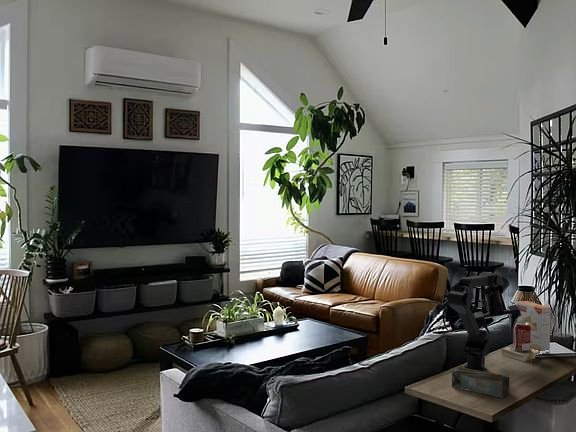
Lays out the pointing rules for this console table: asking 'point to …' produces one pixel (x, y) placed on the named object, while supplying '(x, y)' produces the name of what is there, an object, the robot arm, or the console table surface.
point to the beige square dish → (519, 353)
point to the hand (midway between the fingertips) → (500, 331)
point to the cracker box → (536, 324)
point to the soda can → (522, 336)
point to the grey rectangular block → (481, 382)
